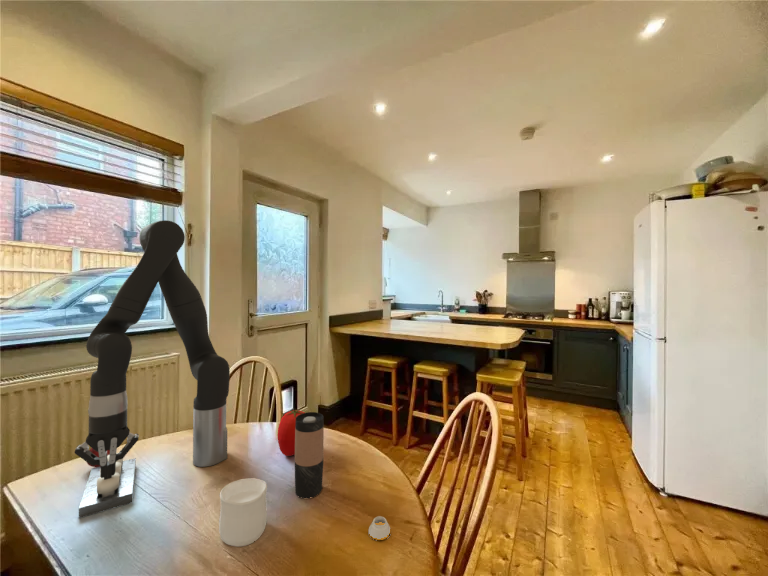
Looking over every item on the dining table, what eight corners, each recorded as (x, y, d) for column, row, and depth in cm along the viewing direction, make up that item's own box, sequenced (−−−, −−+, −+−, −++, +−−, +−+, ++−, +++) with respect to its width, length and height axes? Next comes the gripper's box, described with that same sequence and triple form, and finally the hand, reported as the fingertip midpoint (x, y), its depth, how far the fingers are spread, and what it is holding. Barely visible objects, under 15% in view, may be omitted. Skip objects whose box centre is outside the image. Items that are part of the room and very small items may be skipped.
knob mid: (121, 481, 91) (122, 460, 91) (120, 489, 88) (120, 467, 88) (101, 486, 89) (101, 465, 89) (98, 495, 85) (99, 473, 85)
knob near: (120, 492, 86) (120, 470, 86) (118, 501, 83) (118, 479, 83) (98, 498, 84) (98, 476, 84) (95, 508, 80) (95, 484, 80)
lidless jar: (363, 534, 74) (379, 546, 71) (364, 521, 74) (380, 532, 71) (379, 522, 78) (395, 533, 74) (379, 510, 78) (395, 520, 74)
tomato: (299, 440, 117) (299, 401, 117) (321, 450, 110) (322, 408, 110) (268, 455, 107) (269, 412, 107) (291, 467, 100) (291, 421, 100)
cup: (265, 543, 71) (266, 499, 71) (214, 554, 68) (214, 507, 68) (267, 513, 80) (268, 474, 80) (222, 521, 77) (223, 480, 77)
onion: (96, 474, 95) (96, 446, 95) (80, 471, 96) (80, 444, 96) (116, 463, 100) (116, 437, 100) (101, 461, 102) (101, 435, 101)
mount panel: (135, 465, 99) (135, 458, 99) (132, 502, 83) (132, 493, 83) (91, 476, 93) (91, 468, 93) (78, 518, 77) (78, 508, 77)
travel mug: (328, 486, 91) (329, 414, 91) (311, 502, 84) (312, 425, 84) (306, 479, 94) (307, 410, 94) (288, 494, 87) (289, 419, 87)
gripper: (141, 400, 90) (140, 463, 90) (76, 410, 82) (75, 478, 82) (140, 409, 84) (139, 476, 84) (69, 420, 76) (69, 494, 76)
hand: (108, 477), depth 83 cm, fingers closed
